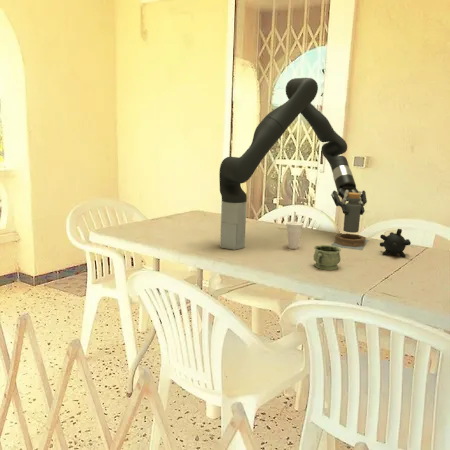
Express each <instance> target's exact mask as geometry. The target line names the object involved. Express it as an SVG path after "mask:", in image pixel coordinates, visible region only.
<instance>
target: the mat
mask: <svg viewBox="0 0 450 450" xmlns="http://www.w3.org/2000/svg"><path fill="white" fill-rule="evenodd" d="M368 242H369V240H368V239H366V240H365V245H364V246H359V247H350V246H343V245H340V244H337V243H335V240H334V241H333V243H332V244H330V245H331V246H336V247H339V248H340V249H349V250H358V251H363V250H364V249H365V247H366V245H367V244H368Z"/></svg>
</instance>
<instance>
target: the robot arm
mask: <svg viewBox="0 0 450 450" xmlns="http://www.w3.org/2000/svg"><path fill="white" fill-rule="evenodd" d="M318 91H319V85H318V82H317V81H316V80H315V79H314V78H311V77H297V78H296V77H295V78H291V79H290V80H289V81H288V82H287V83H286V85H285V95H286V97H287V99H288V100H287V101H285V102H284V103H283V104H281V105H280V106H277V107H276V108H274V109H273V110H272V111H270V112H269V113H267V114H266V115H265V117H263V119H262V120H261V121H260V122H259V123H258V125H257V126H256V128H255V130H254V132H253V137H252V140H251V144H250V145H249V146H248V148H247V149H246V151H245V152H244V153H243V154H242V155H241V156H239V157H237V156H227V157H225V158H224V159H223V160H222V161H221V163H220V166H219V173H218V175H219V178H218V179H219V193H220V195H221V196H220V197H221V206H220V207H221V208H220V209H221V211H220V238H219V239H220V241H219V242H220V243H219V247H220V248H221V249H228V250H235V251H237V250H239V249H244V248H245V246H246V225H247V224H246V223H247V199H248V195H247V193H246V192H245V191H244V190H243V188H242V186H241V185H242V184H245V183H247V182H248V181H249V180H250V179H251V177H252V176H253V174H254V173H255V171H256V170H257V168H258V167H259V165H260V163H261V162H262V161H263V159H264V158H265V157H266V155H267V154H268V153H269V151H270V150H271V149H272V148H273V146H274V145H275V144H276V143H277V142H278V141H279V140H280V138H282V136H283V135H284V134H285V132H286V130H288V128H289V127H290V126H291V125H292V124H293V122H294V121H295V120H296V119H297V117H298V116H299V115H300V114H301V115H302V116H303V118H304V119H305V120H306V122H307V123H308V124H309V126H310V127H311V130H313V132H314V134H315V135H316V137H317V139H318V140H319V141H320V142H321V143H324V144H323V145H322V146H321V148H320V149H321V153H322V156H323V157H324V158H325V160H327V162H328V164H329V167H330V168H331V173H332V177H333V182H334V184H335V187H336V190H333V191H332V192H331V194H330V196H331V197H332V200H333V202H334V204H335V206H336V207H340V208H341V210H342V211H341V212H342V214H344V216H345V215H347V214H348V208H347V205H346V203H347V202H348V200H347V197H348V193H351V192H353V193H360V199H361V200H360V201H359V204H360V205H361V211H360V216H363V214H364V213H365V208H364V207H365V205H366V204H367V202H368V200H367V194H366V191H365V190H362V191H359V190H358V189H357V185H356V182H355V177H354V176H353V173H352V172H353V171H352V170H351V168H350V165H349V161H348V159H347V157H345V156H344V155H343V154H345V153H346V152H347V151H348V144H347V142H346V140H345V139H344V138H343V137H342V136H340V135H339V134H338V133H337V132H336V131H335V130H334V128H333V125H331V122H330V121H329V119H328V118H327V117H326V116H325V115H324V114H323V113H322V112H321V111H319V109H317V107H315V106H314V105H313V104H312V102H313V101H314V100H315V98H316V97H317V94H318ZM340 198H341V199H340Z"/></svg>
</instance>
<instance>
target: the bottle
mask: <svg viewBox="0 0 450 450" xmlns="http://www.w3.org/2000/svg"><path fill="white" fill-rule="evenodd" d="M347 200H348V201H347V202H346V205H347V208H348V214H347V215H345V214H344V217H343V232H344V233H349V234H355V233H359V230H360V221H361V215H360V211H361V205H360V204H359V201H360V200H361V198H360V193H353V192H351V193H348V197H347Z"/></svg>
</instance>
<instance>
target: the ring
mask: <svg viewBox="0 0 450 450" xmlns="http://www.w3.org/2000/svg"><path fill="white" fill-rule="evenodd" d="M365 240H367V238H366V236H363V235H360V234H355V233H337V234H336V235H335V237H334V241H335V243H337V244H340V245H343V246H350V247H359V246H364V245H365ZM365 246H366V245H365Z"/></svg>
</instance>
